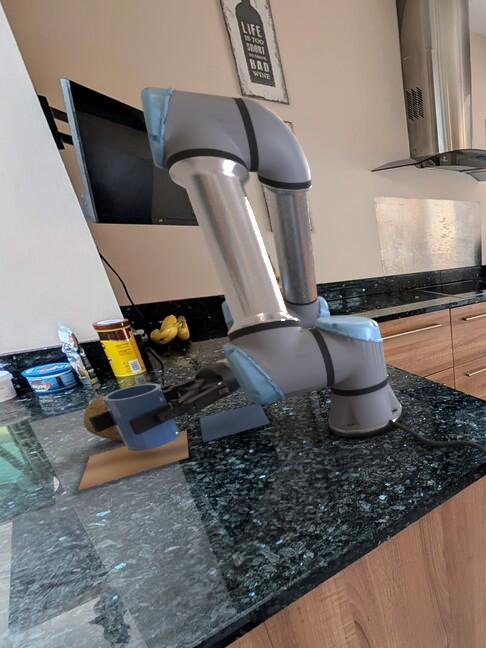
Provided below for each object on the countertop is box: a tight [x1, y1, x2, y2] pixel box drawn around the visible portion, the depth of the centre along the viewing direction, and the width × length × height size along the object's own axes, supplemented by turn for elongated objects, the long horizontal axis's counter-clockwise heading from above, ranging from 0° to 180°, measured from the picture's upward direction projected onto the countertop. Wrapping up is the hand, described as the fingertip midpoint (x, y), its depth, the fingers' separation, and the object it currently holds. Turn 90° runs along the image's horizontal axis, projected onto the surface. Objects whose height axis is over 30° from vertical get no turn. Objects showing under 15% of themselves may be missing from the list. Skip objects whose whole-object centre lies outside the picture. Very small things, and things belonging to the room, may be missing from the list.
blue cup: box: [103, 383, 181, 451], centre depth 72 cm, size 8×8×10 cm
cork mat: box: [77, 429, 190, 491], centre depth 75 cm, size 14×15×1 cm
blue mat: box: [199, 403, 270, 443], centre depth 88 cm, size 14×12×1 cm
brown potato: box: [83, 395, 124, 442], centre depth 80 cm, size 9×9×10 cm
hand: (113, 426), depth 67 cm, fingers closed on blue cup, 8 cm apart
